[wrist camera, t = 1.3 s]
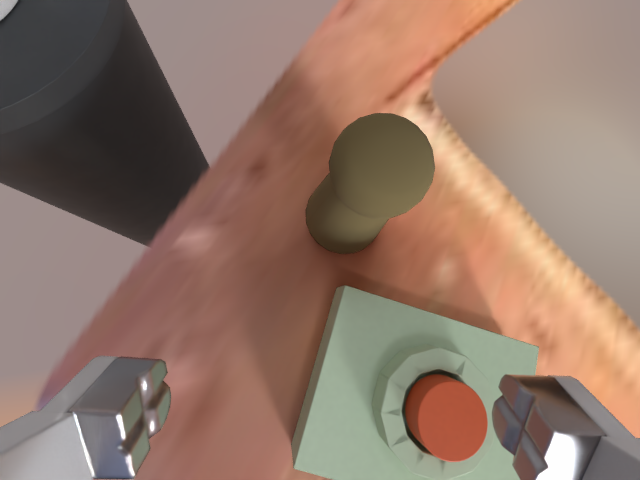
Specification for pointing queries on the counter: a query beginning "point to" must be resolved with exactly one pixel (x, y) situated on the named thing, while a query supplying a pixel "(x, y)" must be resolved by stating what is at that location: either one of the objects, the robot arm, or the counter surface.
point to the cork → (369, 181)
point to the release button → (446, 417)
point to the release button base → (397, 391)
